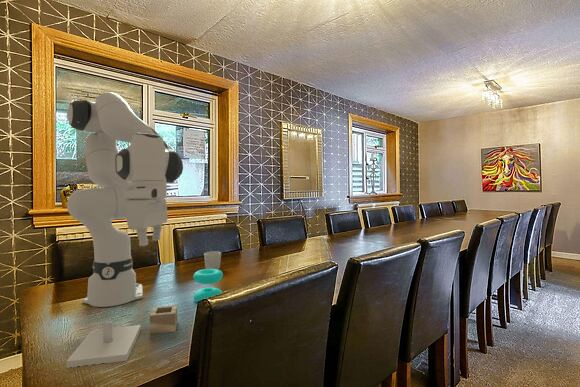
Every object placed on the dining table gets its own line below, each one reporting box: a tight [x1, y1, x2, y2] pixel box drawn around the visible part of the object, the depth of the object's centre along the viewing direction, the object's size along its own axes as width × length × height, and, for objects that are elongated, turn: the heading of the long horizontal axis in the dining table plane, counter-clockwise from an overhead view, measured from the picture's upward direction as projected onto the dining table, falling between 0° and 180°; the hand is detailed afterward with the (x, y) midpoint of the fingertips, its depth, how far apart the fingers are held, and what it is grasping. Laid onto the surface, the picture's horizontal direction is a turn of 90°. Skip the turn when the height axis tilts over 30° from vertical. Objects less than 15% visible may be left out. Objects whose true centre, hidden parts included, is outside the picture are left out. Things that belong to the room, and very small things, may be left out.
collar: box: [149, 304, 178, 335], centre depth 90 cm, size 6×6×5 cm
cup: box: [203, 250, 222, 270], centre depth 154 cm, size 11×8×8 cm
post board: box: [65, 320, 142, 369], centre depth 79 cm, size 16×12×6 cm
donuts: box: [192, 268, 224, 303], centre depth 112 cm, size 10×10×10 cm
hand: (150, 242), depth 88 cm, fingers open, 8 cm apart
